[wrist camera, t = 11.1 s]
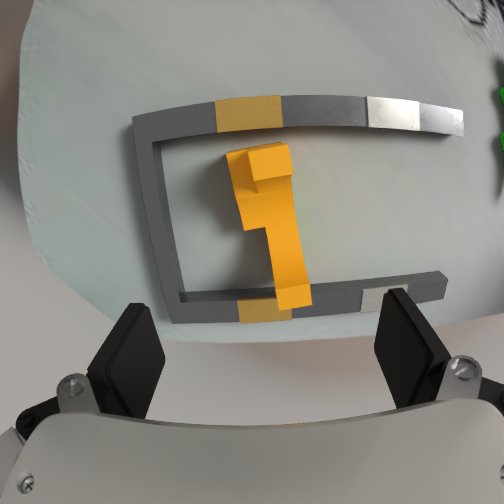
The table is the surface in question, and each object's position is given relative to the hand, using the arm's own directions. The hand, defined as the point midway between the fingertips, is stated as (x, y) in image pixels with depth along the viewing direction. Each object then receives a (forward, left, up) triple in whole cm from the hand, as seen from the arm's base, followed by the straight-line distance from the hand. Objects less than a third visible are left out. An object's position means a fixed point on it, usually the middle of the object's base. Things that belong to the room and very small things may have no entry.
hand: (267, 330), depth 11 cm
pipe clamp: (-1, 0, -17) cm, 17 cm away
